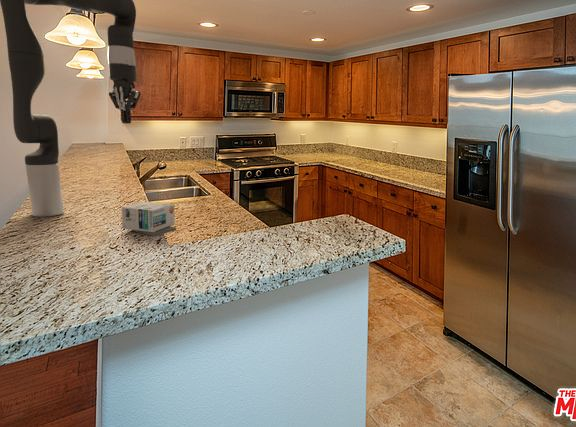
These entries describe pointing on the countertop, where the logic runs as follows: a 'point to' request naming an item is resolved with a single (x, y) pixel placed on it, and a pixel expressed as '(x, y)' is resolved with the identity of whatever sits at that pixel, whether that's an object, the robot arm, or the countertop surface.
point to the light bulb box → (148, 216)
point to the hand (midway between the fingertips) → (126, 123)
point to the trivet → (162, 231)
